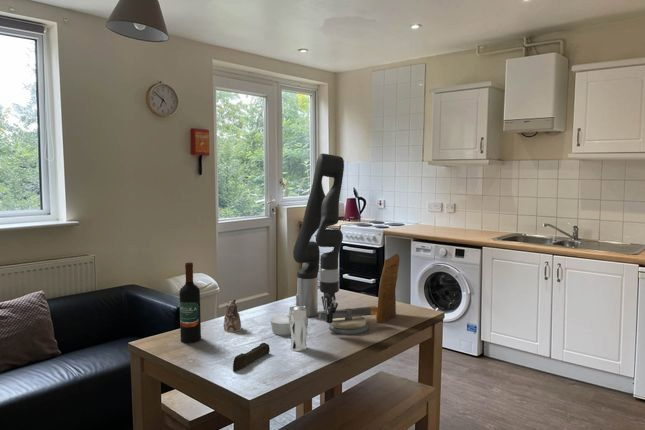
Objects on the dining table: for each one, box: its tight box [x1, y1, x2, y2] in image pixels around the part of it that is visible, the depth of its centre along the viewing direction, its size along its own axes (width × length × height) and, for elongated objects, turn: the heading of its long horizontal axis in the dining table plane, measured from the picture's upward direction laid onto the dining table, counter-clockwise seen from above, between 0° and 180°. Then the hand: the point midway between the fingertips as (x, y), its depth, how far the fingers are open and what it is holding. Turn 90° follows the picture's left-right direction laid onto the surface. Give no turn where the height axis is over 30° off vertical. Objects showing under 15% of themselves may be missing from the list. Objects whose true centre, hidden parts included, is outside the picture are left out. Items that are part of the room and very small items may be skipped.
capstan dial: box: [318, 305, 378, 330], centre depth 199 cm, size 14×25×6 cm, turn 108°
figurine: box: [223, 299, 242, 333], centre depth 198 cm, size 7×7×12 cm
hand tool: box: [232, 342, 271, 372], centre depth 165 cm, size 19×4×5 cm, turn 151°
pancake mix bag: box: [375, 253, 400, 323], centre depth 212 cm, size 7×19×28 cm, turn 146°
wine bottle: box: [179, 261, 202, 344], centre depth 185 cm, size 8×8×30 cm
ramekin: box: [269, 314, 291, 336], centre depth 195 cm, size 11×11×5 cm
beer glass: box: [288, 305, 309, 352], centre depth 176 cm, size 7×7×15 cm
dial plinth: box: [328, 322, 369, 336], centre depth 200 cm, size 16×16×2 cm
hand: (329, 322), depth 191 cm, fingers closed
